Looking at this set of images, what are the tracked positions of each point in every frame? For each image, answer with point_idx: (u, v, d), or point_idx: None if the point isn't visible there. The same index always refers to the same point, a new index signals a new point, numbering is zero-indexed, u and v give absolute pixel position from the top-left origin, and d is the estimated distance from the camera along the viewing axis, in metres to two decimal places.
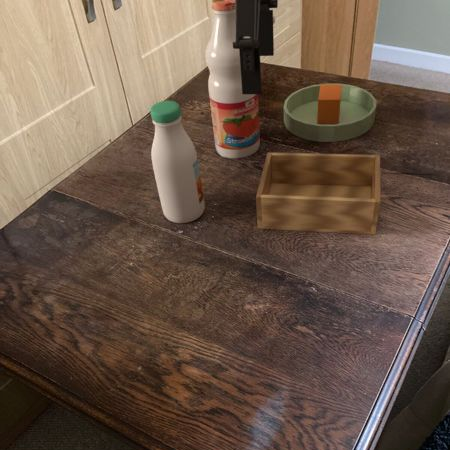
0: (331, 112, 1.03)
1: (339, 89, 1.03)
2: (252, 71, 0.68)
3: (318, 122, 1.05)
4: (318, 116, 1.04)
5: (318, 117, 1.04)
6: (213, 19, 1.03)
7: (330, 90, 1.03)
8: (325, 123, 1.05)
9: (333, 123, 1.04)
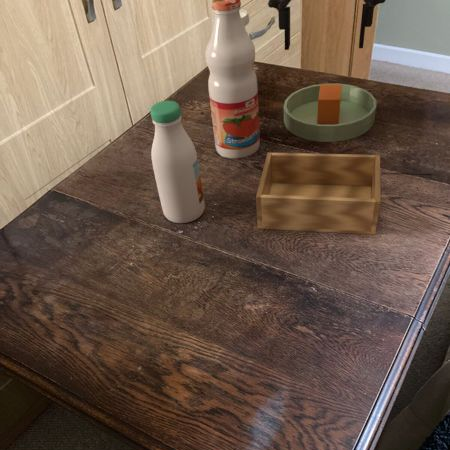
0: (331, 112, 1.03)
1: (339, 89, 1.03)
2: None
3: (318, 122, 1.05)
4: (318, 116, 1.04)
5: (318, 117, 1.04)
6: (213, 19, 1.03)
7: (330, 90, 1.03)
8: (325, 123, 1.05)
9: (333, 123, 1.04)
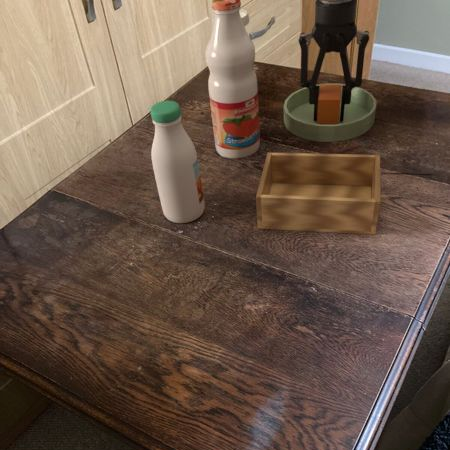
0: (331, 112, 1.03)
1: (339, 89, 1.03)
2: None
3: (318, 122, 1.05)
4: (318, 116, 1.04)
5: (318, 117, 1.04)
6: (213, 19, 1.03)
7: (330, 90, 1.03)
8: (325, 123, 1.05)
9: (333, 123, 1.04)
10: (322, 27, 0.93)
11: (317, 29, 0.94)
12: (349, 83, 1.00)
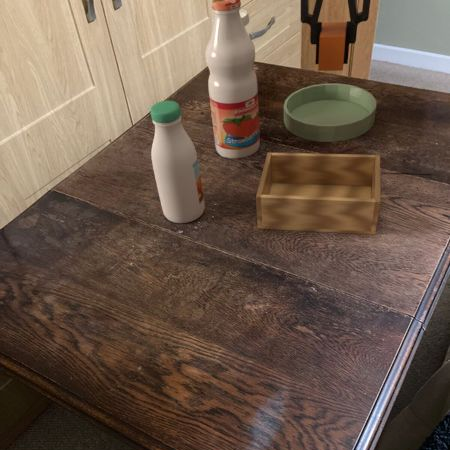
0: (335, 52, 0.90)
1: (344, 26, 0.91)
2: None
3: (320, 65, 0.92)
4: (320, 58, 0.91)
5: (320, 59, 0.91)
6: (213, 19, 1.03)
7: (333, 28, 0.91)
8: (328, 66, 0.92)
9: (337, 66, 0.92)
10: None
11: None
12: (354, 16, 0.87)
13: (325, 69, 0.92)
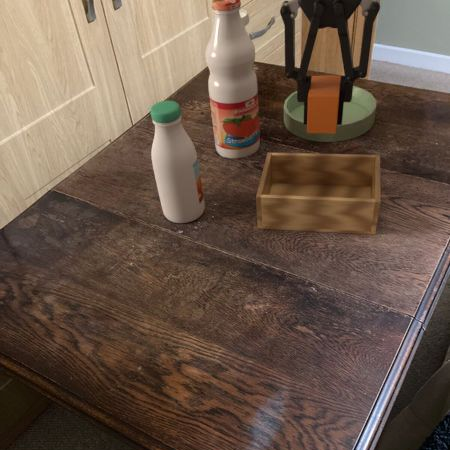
0: (327, 113, 0.75)
1: (337, 82, 0.75)
2: None
3: (308, 127, 0.77)
4: (308, 119, 0.76)
5: (308, 120, 0.76)
6: (213, 19, 1.03)
7: (325, 83, 0.75)
8: (318, 128, 0.77)
9: (329, 128, 0.76)
10: None
11: None
12: (350, 73, 0.72)
13: (315, 131, 0.77)
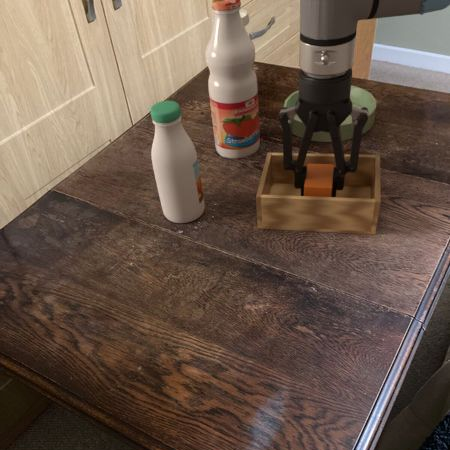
0: None
1: (331, 171, 0.83)
2: None
3: None
4: None
5: None
6: (213, 19, 1.03)
7: (319, 173, 0.83)
8: None
9: None
10: (308, 103, 0.73)
11: (301, 105, 0.73)
12: (342, 168, 0.80)
13: None
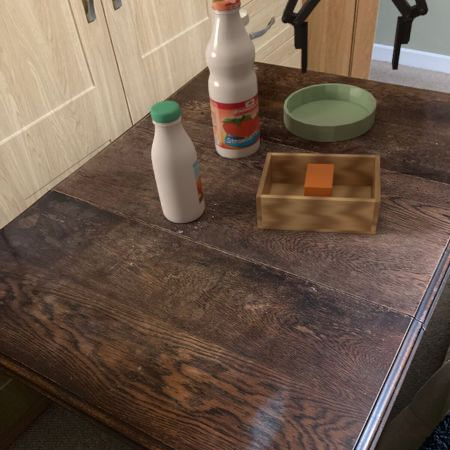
0: None
1: (331, 171, 0.83)
2: None
3: None
4: None
5: None
6: (213, 19, 1.03)
7: (319, 173, 0.83)
8: None
9: None
10: None
11: None
12: (407, 11, 0.68)
13: None
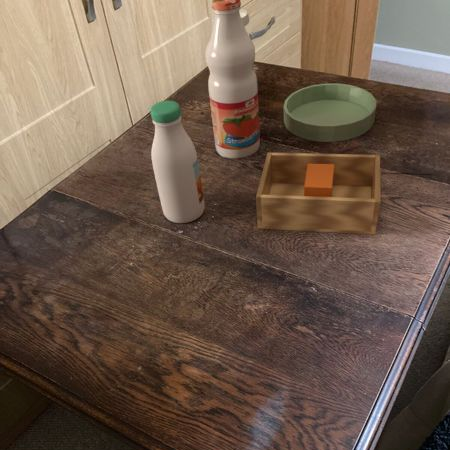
0: None
1: (331, 171, 0.83)
2: None
3: None
4: None
5: None
6: (213, 19, 1.03)
7: (319, 173, 0.83)
8: None
9: None
10: None
11: None
12: None
13: None
